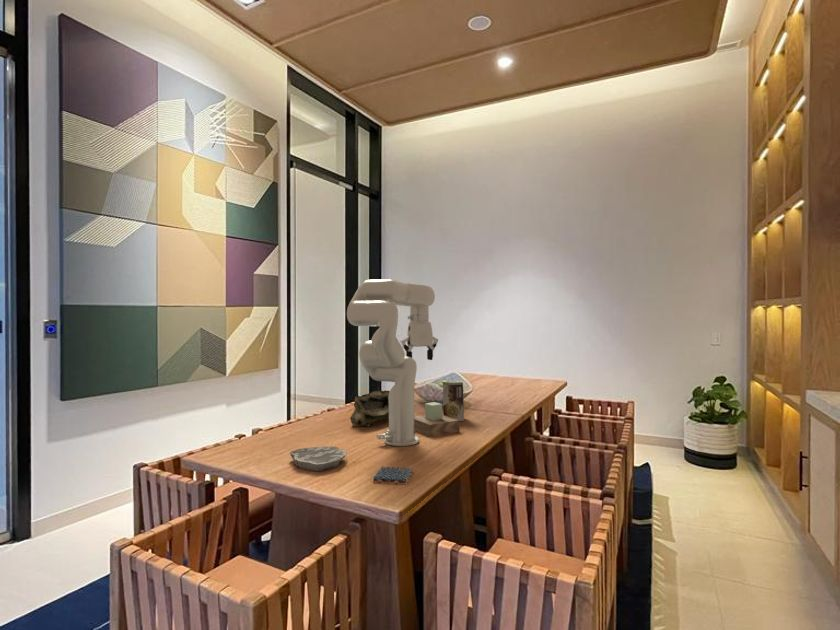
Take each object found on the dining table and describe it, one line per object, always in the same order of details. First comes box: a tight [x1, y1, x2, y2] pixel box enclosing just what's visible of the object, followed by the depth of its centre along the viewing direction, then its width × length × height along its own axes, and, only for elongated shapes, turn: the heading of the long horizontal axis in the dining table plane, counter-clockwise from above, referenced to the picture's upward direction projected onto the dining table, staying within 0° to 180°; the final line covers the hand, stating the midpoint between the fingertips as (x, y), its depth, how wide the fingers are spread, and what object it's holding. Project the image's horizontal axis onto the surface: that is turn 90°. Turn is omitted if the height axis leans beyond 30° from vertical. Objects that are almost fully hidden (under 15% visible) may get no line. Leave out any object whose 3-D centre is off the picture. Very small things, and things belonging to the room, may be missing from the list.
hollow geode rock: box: [349, 389, 390, 427], centre depth 213 cm, size 28×13×15 cm
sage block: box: [424, 401, 443, 421], centre depth 196 cm, size 5×5×6 cm
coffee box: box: [442, 381, 465, 422], centre depth 214 cm, size 9×6×16 cm
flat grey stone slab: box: [289, 446, 348, 472], centre depth 155 cm, size 20×17×3 cm
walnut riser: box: [414, 414, 460, 437], centre depth 196 cm, size 14×16×5 cm
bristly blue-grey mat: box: [372, 465, 415, 485], centre depth 140 cm, size 10×11×2 cm
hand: (419, 360), depth 199 cm, fingers open, 9 cm apart
